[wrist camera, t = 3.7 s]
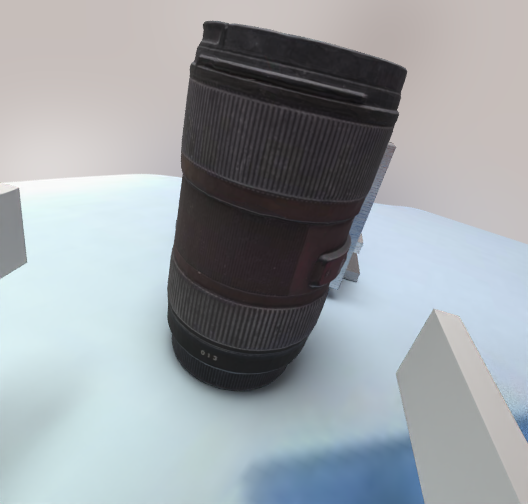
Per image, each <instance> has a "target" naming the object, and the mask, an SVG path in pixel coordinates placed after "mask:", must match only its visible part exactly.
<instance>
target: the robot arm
mask: <svg viewBox="0 0 528 504" xmlns="http://www.w3.org/2000/svg"><path fill="white" fill-rule="evenodd" d="M25 263H27V257H26V247H25V238H24V229H23V220H22V211H21V201H20V192H19V188H18V187H14V186H11V185H7V184H4V183H1V182H0V279H1V278H3V277H4V276H6V275H8V274H9V273H11V272H12V271H14V270H16V269H17V268H19V267H21V266H22V265H24V264H25ZM396 376H397V381H398V385H399V390H400V394H401V399H402V403H403V408H404V412H405V417H406V421H407V426H408V431H409V435H410V440H411V444H412V449H413V453H414V458H415V462H416V467H417V471H418V476H419V480H420V485H421V489H422V494H423V498H424V503H425V504H528V443H527V441H526V439H525V437H524V436H523V434H522V432H521V430H520V428H519V426H518V424H517V423H516V421H515V419H514V417H513V415H512V413H511V411H510V410H509V408H508V406H507V404H506V402H505V400H504V398H503V397H502V395H501V393H500V391H499V389H498V387H497V385H496V384H495V382H494V380H493V378H492V376H491V374H490V372H489V371H488V369H487V367H486V365H485V363H484V361H483V359H482V358H481V356H480V354H479V352H478V350H477V348H476V346H475V345H474V343H473V341H472V339H471V337H470V335H469V333H468V332H467V330H466V328H465V326H464V324H463V322H462V320H461V318H460V317H459V316H457V315H453V314H450V313H447V312H443V311H440V310H436V309H433V311H432V313H431V314H430V316H429V318H428V319H427V321H426V323H425V324H424V326H423V328H422V330H421V331H420V333H419V335H418V336H417V338H416V340H415V342H414V343H413V345H412V347H411V348H410V350H409V352H408V353H407V355H406V357H405V359H404V360H403V362H402V364H401V365H400V367H399V369H398V370H397V372H396Z"/></svg>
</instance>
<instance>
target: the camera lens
mask: <svg viewBox="0 0 528 504" xmlns="http://www.w3.org/2000/svg"><path fill="white" fill-rule="evenodd" d="M203 29H204V33H203V39H202V41H201V43H200V44H199V46H198V48H197V52H196V57H195V61H194V62H193V63H192V64H191V66H190V79H189V86H188V94H187V102H186V110H185V119H184V128H183V136H182V149H181V168H182V172H183V177H182V184H181V192H180V200H179V208H178V217H177V224H176V232H175V240H174V245H173V248H172V254H171V260H170V269H169V278H168V287H167V291H168V323H169V327H170V330H171V332H172V343H173V348H174V351H175V354H176V357H177V358H178V360H179V361H180V363H181V365H182V366H183V367H184V368H185V369H187V370H188V371H189V372H190V373H191V374H192V375H193V376H195V377H196V378H198V379H200V380H201V381H203V382H204V383H207V384H209V385H212V386H215V387H217V388H221V389H227V390H234V391H245V390H251V389H256V388H260V387H263V386H265V385H268V384H269V383H271V382H272V381H274V380H275V379H276V378H278V377H279V376H280V375H281V374H282V372H283V371H284V370H285V368H286V366H287V364H289V363H290V362H291V361H292V360H293V359H295V358H296V357H297V355H298V354H299V353H300V351H301V350H302V348H303V346H304V344H305V342H306V340H307V338H308V336H309V334H310V333H311V331H312V330H313V328H314V326H315V325H316V323H317V320H318V318H319V315H320V313H321V311H322V308H323V305H324V303H325V300H326V297H327V294H328V291H329V285H330V282H331V281H333V280H334V279H336V277H337V276H338V275H339V273H340V271H341V268H342V267H343V265H344V263H345V262H346V259H347V253H348V251H349V248H350V246H351V236H350V235H349V231H350V229H351V226H352V223H353V221H354V218H355V216H356V215H358V214H359V212H360V210H361V207H362V205H363V203H364V201H365V198H366V196H367V194H368V193H369V191H370V189H371V187H372V184H373V182H374V179H375V176H376V174H377V171H378V169H379V166H380V164H381V161H382V158H383V156H384V153H385V151H386V148H387V145H388V143H389V140H390V137H391V135H392V132H393V128H394V125H395V123H396V121H397V118H398V116H399V112H398V111H397V109H398V106H399V102H400V99H401V90H402V87H403V84H404V82H405V78H406V74H407V70H406V68H404V67H402V66H400V65H398V64H395V63H393V62H390V61H388V60H385V59H382V58H378V57H375V56H371V55H368V54H365V53H361V52H358V51H354V50H351V49H347V48H344V47H340V46H337V45H333V44H330V43H326V42H322V41H318V40H313V39H310V38H305V37H301V36H296V35H290V34H285V33H281V32H277V31H274V30H270V29H264V28H259V27H253V26H247V25H241V24H228V23H225V22H220V21H206V22H204V24H203Z"/></svg>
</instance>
